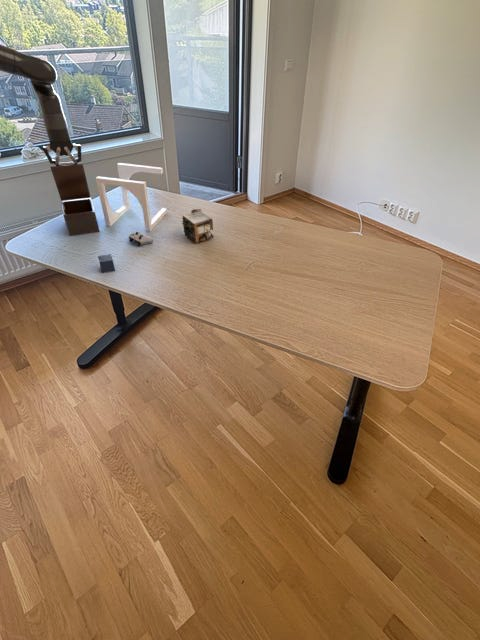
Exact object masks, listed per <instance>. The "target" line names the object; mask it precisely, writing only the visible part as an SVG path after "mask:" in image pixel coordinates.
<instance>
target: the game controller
mask: <svg viewBox="0 0 480 640" xmlns="http://www.w3.org/2000/svg"><path fill="white" fill-rule="evenodd" d="M128 240H129V241H128V242H129V243H132V242H134V243H136V244H137V247H142V246H143V245H150V244H152V243H154V239H153V237H150V236H148V235H145V234H143V233H141V232H140V231H134V232H132V233H130V234H129V235H128Z"/></svg>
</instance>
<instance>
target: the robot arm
mask: <svg viewBox="0 0 480 640" xmlns="http://www.w3.org/2000/svg"><path fill="white" fill-rule="evenodd" d="M0 72H4V73H6V74H10V75H12V76H18V77H23V78H26V79H28V80H29V81H30V83H31V85H32V88H33V90H34V92H35V94H36V96H37V99H38V103H39V107H40V110H41V111H40V112H41V114H42V119H43V120H42V121H43V124H44V127H45V130H46V134H47V138H48V141H49V144H48V145H46V146H45V145H43V146H42V151H43V153H44V154H45V156H46V159H47V160H48V161H49V163H50V165H54V166H60V164H59V163H60V157H65V156H66V157H69V158H70V159H71V162H73V164H74V165H77V164H79V163H81V162H82V145H81V144H80V143H78V144H76V143H73V141H72V138H71V133H70V130H69V126H68V123H67V119H66V116H65V113H64V109H63V106H62V101H61V98H60V96H59V95H58V93H56V91H55V90H54V89H55V88H54V86H53V84H55V83H56V81H57V79H58V74H57V70H56V68H55V67H54V65H53V64H52V63H51V62H49V61H48V60H45V59H43V58H40V57H37V56H33V55H30V54H28V53H27V54H26V53H23V52H20V51H18V50H16V49H14V48H11V47H9V46H7V45H3V44H0ZM73 149H75V151H77V154H76V155H77V157H75V156H74V154H73ZM51 150H52V151H53V152H54V153H55V156H54V157H55V159H54V158H53V157H52V155H51V153H50V152H51Z"/></svg>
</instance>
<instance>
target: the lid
mask: <svg viewBox="0 0 480 640" xmlns="http://www.w3.org/2000/svg"><path fill="white" fill-rule="evenodd" d="M73 163H74V162H73V161H68V162H59V164H60V166H56V165H53V166H50V170H51V171H50V172H51V173H52V176H53V181H54V183H55V187H56V189H57V192H58V195H59V198H60V201H68V200H77V199H86V198H91V193H90V187H89V184H88V179H87V175H86V172H85V167H84V163H77V165H74V164H73Z"/></svg>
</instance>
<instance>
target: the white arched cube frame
mask: <svg viewBox="0 0 480 640" xmlns="http://www.w3.org/2000/svg"><path fill="white" fill-rule="evenodd" d="M116 167H117V174H118V178H116V177H109V176H108V177H107V176H99V175H98V176H96V177H95V183H96V187H97V191H98V195H99V200H100V204H101V209H102V214H103V218H104V222H105V226H107V227H111V226H112V225H114V224H115V223H116V222H117V221H118V220H119V219H120V218H121V217H122V216H124V215H125V214H126V213H127V212H128V211H130V209H131V208H132V207H131V201H130V195H129V192H130V193H131V194H132V195H133V196H134V197H135V198H136V199H137V202H138V203H139V204H140V206H141V207H140V208H141V210H142V214H143V221H144V222H143V223H144V229H145V232H150V233H151V232H152V230H153V229H154V228H155V227H157V225H158V224H159V222H160V221H162V220H163V218H164V217H165V216H166V215H167V213H168V209H167V208H166V207H162V208H161V209H160V210H159V211H158V212H157V213H156V214H155V215H154V216H153V218H151V211H150V204H149V195H148V187H147V182H146V181H141V180H132V179H130V178H131V177H132V176H133V175H134V174H136V173H150V174H157V175H163V173H164V167H159V166H151V165H143V164H132V163H126V162H125V163H124V162H117V164H116ZM106 185H108V186H109V185H110V186H117V187H120V189H121V195H122V202H123V205H122V206H121V207H120V208H118V210H116V211H115V210H114V209H113V208H112V206H111V205H110V203H109V199H108V196H107V191H106Z"/></svg>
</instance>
